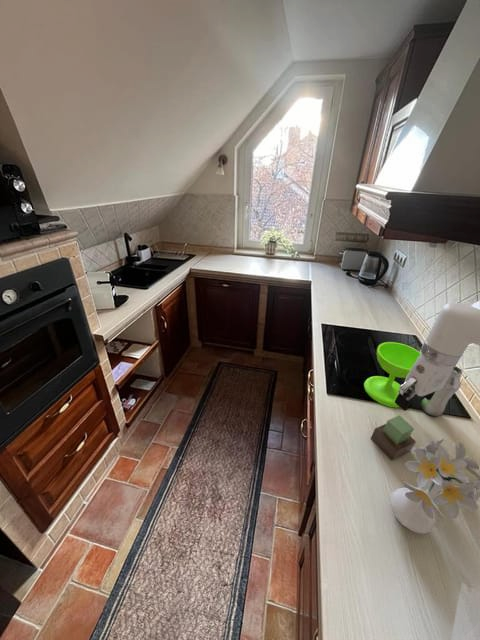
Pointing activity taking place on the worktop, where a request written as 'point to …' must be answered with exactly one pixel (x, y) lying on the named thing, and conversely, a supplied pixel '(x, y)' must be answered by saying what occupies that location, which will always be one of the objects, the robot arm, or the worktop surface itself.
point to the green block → (398, 429)
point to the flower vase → (435, 487)
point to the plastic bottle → (443, 394)
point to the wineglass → (391, 371)
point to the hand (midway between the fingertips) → (412, 401)
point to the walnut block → (391, 444)
